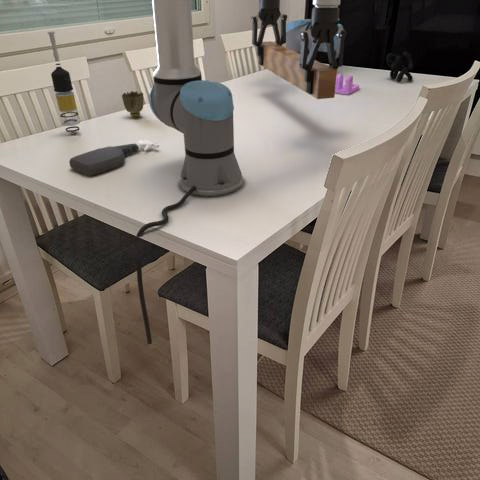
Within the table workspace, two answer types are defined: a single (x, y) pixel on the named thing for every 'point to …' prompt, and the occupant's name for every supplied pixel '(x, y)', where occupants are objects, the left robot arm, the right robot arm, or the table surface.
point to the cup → (133, 103)
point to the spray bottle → (106, 157)
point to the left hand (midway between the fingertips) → (318, 92)
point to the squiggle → (399, 66)
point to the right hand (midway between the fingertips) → (268, 64)
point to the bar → (298, 70)
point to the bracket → (348, 87)
